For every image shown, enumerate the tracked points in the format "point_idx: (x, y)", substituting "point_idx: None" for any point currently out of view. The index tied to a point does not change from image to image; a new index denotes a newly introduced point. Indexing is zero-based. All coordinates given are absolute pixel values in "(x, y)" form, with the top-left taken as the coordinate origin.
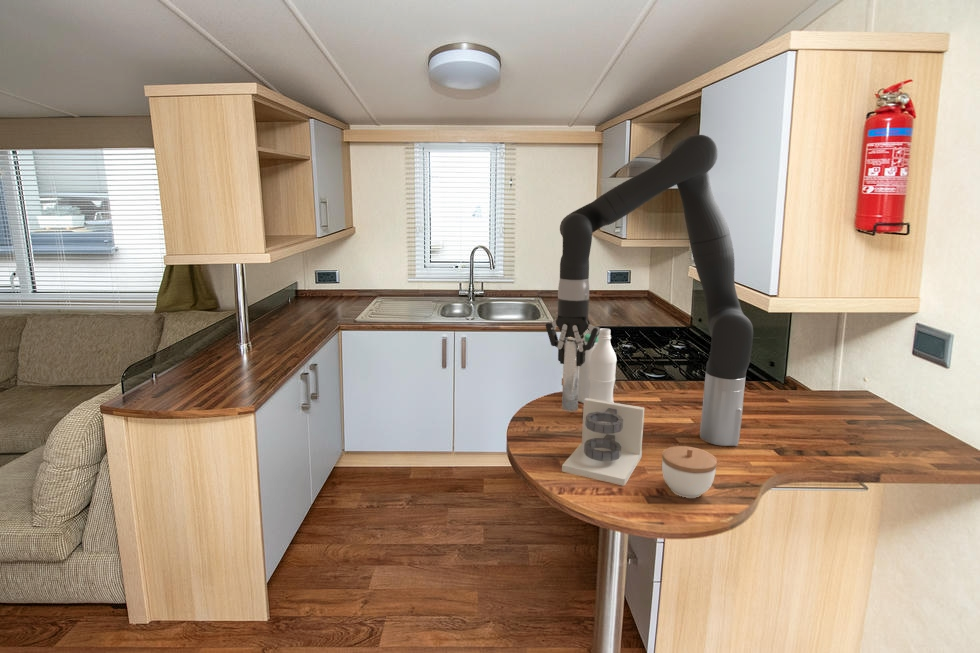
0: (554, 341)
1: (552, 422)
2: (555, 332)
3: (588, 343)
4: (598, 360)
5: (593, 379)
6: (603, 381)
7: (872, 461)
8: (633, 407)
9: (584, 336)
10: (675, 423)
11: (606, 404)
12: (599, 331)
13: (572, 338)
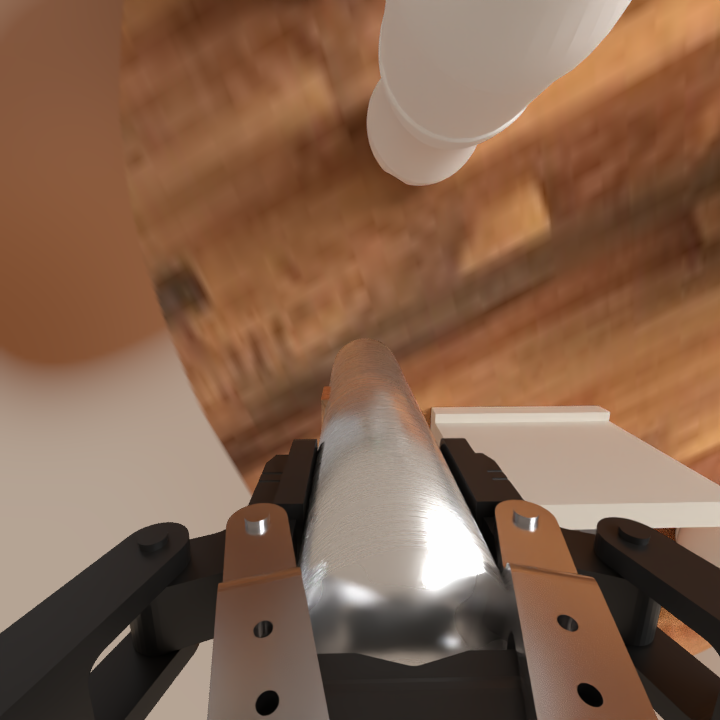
0: (172, 679)
1: (275, 279)
2: (44, 697)
3: (659, 698)
4: (503, 79)
5: (425, 129)
6: (489, 136)
7: None
8: (700, 520)
9: (607, 610)
10: (699, 51)
11: (581, 527)
12: None
13: (381, 582)
